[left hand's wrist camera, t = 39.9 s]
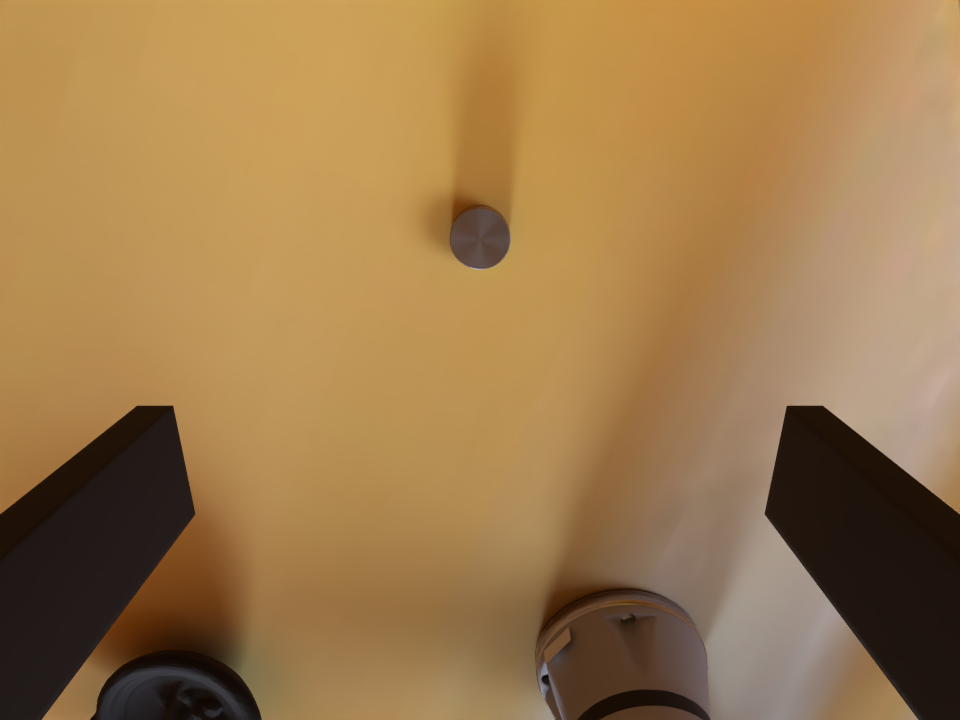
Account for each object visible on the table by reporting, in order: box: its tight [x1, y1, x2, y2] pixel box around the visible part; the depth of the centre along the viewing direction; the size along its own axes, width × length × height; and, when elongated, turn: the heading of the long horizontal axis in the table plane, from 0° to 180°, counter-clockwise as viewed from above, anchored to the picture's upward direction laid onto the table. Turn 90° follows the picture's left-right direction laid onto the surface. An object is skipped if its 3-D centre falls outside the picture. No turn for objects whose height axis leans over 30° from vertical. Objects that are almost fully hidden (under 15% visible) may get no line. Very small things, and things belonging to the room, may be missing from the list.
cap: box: [450, 206, 510, 269], centre depth 40 cm, size 4×4×2 cm
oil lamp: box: [90, 651, 262, 720], centre depth 54 cm, size 15×20×5 cm
